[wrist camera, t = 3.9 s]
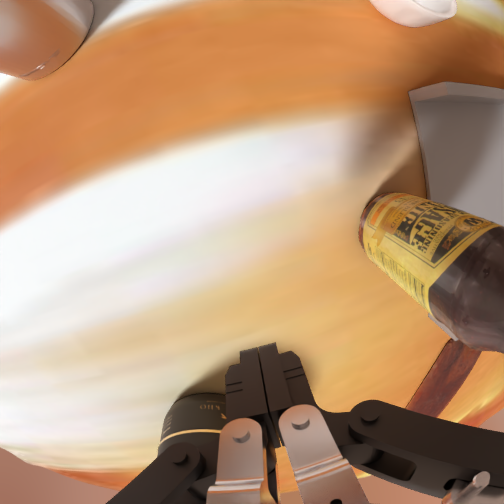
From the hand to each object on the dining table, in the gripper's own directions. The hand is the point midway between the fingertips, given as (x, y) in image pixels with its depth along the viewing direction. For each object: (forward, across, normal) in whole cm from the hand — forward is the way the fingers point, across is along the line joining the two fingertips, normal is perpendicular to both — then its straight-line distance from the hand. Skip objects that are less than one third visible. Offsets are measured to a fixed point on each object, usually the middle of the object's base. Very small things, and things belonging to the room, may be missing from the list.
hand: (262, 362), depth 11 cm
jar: (+11, +8, +16) cm, 21 cm away
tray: (+11, -29, 0) cm, 31 cm away
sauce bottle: (+11, -12, 0) cm, 16 cm away
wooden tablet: (+12, -19, +30) cm, 37 cm away
